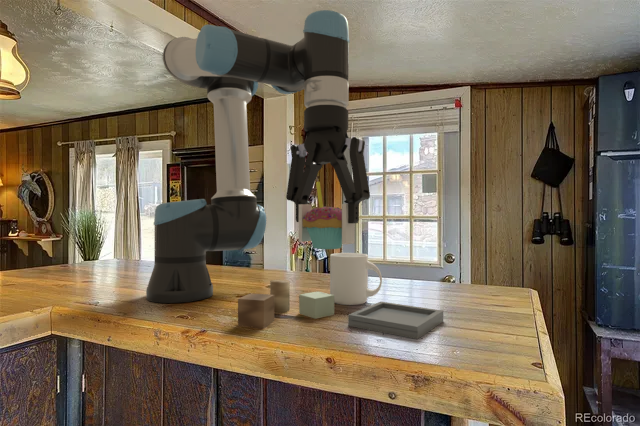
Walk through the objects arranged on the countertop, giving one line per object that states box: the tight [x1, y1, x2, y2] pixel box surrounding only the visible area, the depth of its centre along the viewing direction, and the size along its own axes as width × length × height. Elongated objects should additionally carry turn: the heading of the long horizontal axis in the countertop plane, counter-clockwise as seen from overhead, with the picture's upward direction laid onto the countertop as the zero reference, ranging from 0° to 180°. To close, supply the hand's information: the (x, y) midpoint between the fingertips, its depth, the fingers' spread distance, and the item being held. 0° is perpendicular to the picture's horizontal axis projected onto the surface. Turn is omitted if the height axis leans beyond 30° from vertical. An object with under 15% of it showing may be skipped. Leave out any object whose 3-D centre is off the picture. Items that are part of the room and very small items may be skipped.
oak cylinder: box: [269, 279, 291, 314], centre depth 83 cm, size 4×4×6 cm
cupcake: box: [303, 176, 343, 250], centre depth 68 cm, size 9×8×12 cm
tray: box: [347, 301, 444, 340], centre depth 73 cm, size 13×13×2 cm
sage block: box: [298, 290, 335, 319], centre depth 80 cm, size 5×5×4 cm
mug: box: [329, 252, 383, 306], centre depth 91 cm, size 9×12×11 cm
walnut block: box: [237, 292, 275, 329], centre depth 73 cm, size 5×5×5 cm
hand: (325, 242), depth 67 cm, fingers closed on cupcake, 8 cm apart
